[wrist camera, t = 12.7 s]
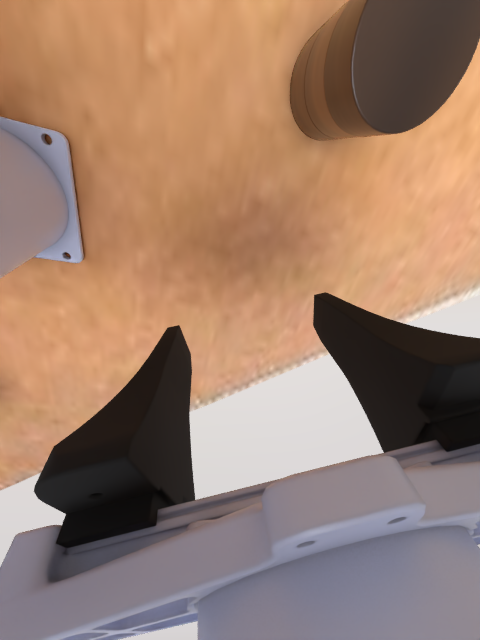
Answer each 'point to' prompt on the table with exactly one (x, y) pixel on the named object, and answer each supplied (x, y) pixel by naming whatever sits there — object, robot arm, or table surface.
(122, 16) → the table surface
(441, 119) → the table surface
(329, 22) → the disc
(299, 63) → the oak chip bottom
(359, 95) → the walnut chip
